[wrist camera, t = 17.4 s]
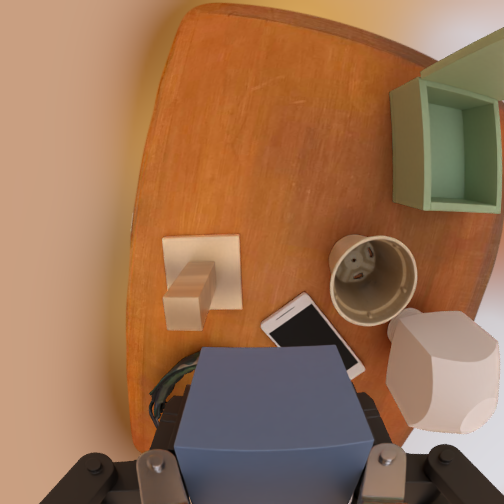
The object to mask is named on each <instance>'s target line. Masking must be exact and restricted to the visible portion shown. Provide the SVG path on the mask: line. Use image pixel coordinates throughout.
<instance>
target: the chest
mask: <svg viewBox="0 0 504 504" xmlns="http://www.w3.org/2000/svg"><path fill="white" fill-rule="evenodd" d="M389 95H390V108H391V123H392V147H393V202H394V203H398V204H402V205H406V206H409V207H413V208H417V209H420V210H426V211H456V212H477V213H496V214H500V212H501V194H502V147H501V130H500V117H499V108H498V100H497V99H494V98H491V97H488V96H485V95H481V94H478V93H475V92H471V91H468V90H464V89H461V88H457V87H453V86H449V85H445V84H441V83H437V82H433V81H428V80H424V79H421V77H417V78H415V79H413V80H411V81H409V82H407V83H405V84H404V85H402V86H400V87H398V88H396V89H394V90H392V91H391V92H389Z"/></svg>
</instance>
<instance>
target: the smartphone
mask: <svg viewBox="0 0 504 504" xmlns="http://www.w3.org/2000/svg"><path fill="white" fill-rule="evenodd" d="M261 328H262V330H263V331H264V332H265V333H266V334H267V335H268V336H269V337H270V339H271V340H272V341H273V342H274V343H275V344H276V345H277V346H278V347H301V346H322V345H336V347H337V349H338V352H339V354H340V356H341V359H342V361H343V364H344V366H345V368H346V371H347V373H348V376H349V378H350V380H352V379H353V378H355V377H356V376H358V375H359V374H361V373H362V372H364V371H365V367H364V365H363V364H362V362H361V361H360V360H359V358H358V357H357V356H356V355H355V353H354V352H353V351H352V349H351V348H350V347H349V346H348V344H347V343H346V342H345V340H344V339H343V338H342V337H341V335H340V334H339V333H338V332H337V330H336V329H335V328H334V326H333V325H332V324H331V323H330V321H329V320H328V319H327V318H326V316H325V315H324V314H323V313H322V311H321V310H320V309H319V307H318V306H317V305H316V304H315V302H314V301H313V300H312V299H311V297H310V296H309V295H308V294H307V293H306V292H303V293H301V294H300V295H299V296H297V297H296V298H295V299H293V300H292V301H290V302H289V303H288V304H286V305H285V306H283V307H282V308H281V309H279V310H278V311H276V312H275V313H274V314H272V315H271V316H269V317H268V318H267V319H265V320H264V321H262V322H261Z"/></svg>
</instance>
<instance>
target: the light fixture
mask: <svg viewBox="0 0 504 504" xmlns="http://www.w3.org/2000/svg"><path fill="white" fill-rule="evenodd" d="M387 334H388V338H389V340H390V341H391V343H392V345H391V350H390V355H389V361H388V367H387V375H386V385H387V387H388V389H389V391H390V392H391V394H392V396H393V398H394V400H395V402H396V403H397V405H398V407H399V409H400V411H401V413H402V415H403V417H404V418H405V420H406V422H407V424H408V426H410V427H414V428H417V429H422V430H426V431H433V432H443V433H457V434H468V433H471V432H474V431H476V430H477V429H479V428H480V427H482V426H483V425H484V424H485V423H486V422H487V421H488V420H489V419H490V418H491V416H492V415H493V413H494V411H495V410H496V407H497V402H498V391H499V379H500V354H499V345H498V341H497V340H496V339H495V338H493V337H492V336H491V335H490V334H489V333H487V332H486V331H485V330H484V329H482V328H481V327H480V326H479V325H478V324H476V323H475V322H474V321H473V320H471V319H470V318H469V317H468V316H466V315H465V314H464V313H463V312H461V311H442V312H430V313H423V314H422V313H421V312H420V311H419V310H417V309H414V308H407V309H404V310H402V311H401V312H400V313H399V314H398V315H397V316H395V317H394V318H393V319H392V320H391V321H390V323H389V326H388V330H387Z"/></svg>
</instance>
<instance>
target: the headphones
mask: <svg viewBox="0 0 504 504" xmlns="http://www.w3.org/2000/svg"><path fill="white" fill-rule="evenodd" d="M200 352H201V351H199V352H197V353H194V354H192V355H190V356H188V357H185V358H183V359H182V360H181V361H180V362H179V363H177V364H176V365H175V366H174V367H173V368H172V369H171V370H170V371H169V372H168V373H167V374H166V375H165V376H164V377H163V378H162V379H161V381H160V382H159V383H158V385H157V386H156V387H155V388H154V389H153V391H151V392H150V393H149V394H150V395H152V396H151V397H152V401H151V403H150V405H149V414H150V417H151V419H152V420H153V422H154V424H155V426H156V428H157V427H158V424H159V421H158V419H159V418H160V416H161V414H160V413H162V412H163V409H164V408H165V403H167V402H166V398H167V397H168V396H169V395H170V393H171V392H172V390H173V389H174V386H175V384H176V383H177V382H178V381H179V380H180V379H181V378H182V377H183V376H184V374H187V373H190V372H192V371H193V370H195V369H196V366H197V362H198V359H199V356H200ZM154 402H155V404H154ZM153 404H154V416H153V413H152V407H153ZM154 417H155V418H154Z"/></svg>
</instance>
